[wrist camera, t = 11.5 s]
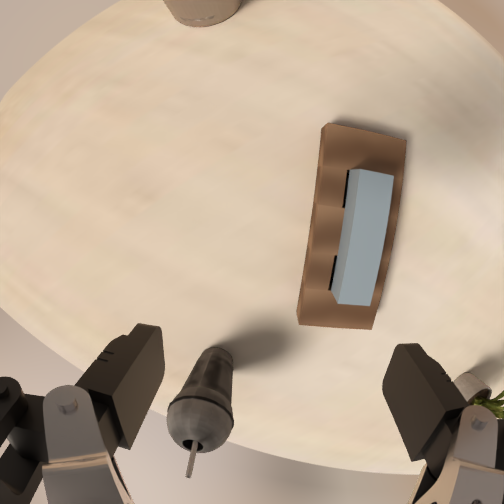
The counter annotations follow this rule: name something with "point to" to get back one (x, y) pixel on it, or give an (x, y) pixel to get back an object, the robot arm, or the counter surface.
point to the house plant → (479, 394)
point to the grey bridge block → (361, 236)
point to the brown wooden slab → (331, 220)
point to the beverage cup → (203, 406)
